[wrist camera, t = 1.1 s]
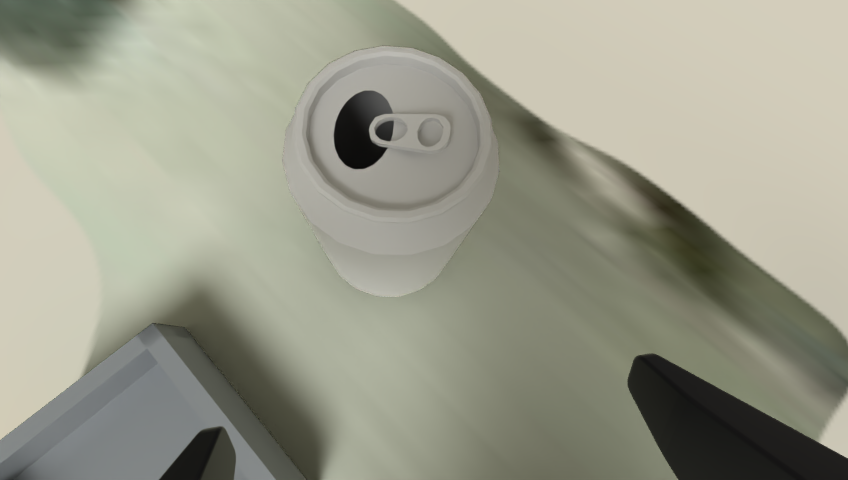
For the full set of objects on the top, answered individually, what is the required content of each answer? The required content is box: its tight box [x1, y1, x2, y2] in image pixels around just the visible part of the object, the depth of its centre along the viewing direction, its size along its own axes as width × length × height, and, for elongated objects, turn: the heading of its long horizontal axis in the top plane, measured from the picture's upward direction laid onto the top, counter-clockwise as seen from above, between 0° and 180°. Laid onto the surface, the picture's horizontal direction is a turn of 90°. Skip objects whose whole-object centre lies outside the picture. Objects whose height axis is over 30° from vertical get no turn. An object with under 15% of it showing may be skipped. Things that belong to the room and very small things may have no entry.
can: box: [282, 46, 500, 297], centre depth 18 cm, size 8×8×12 cm
